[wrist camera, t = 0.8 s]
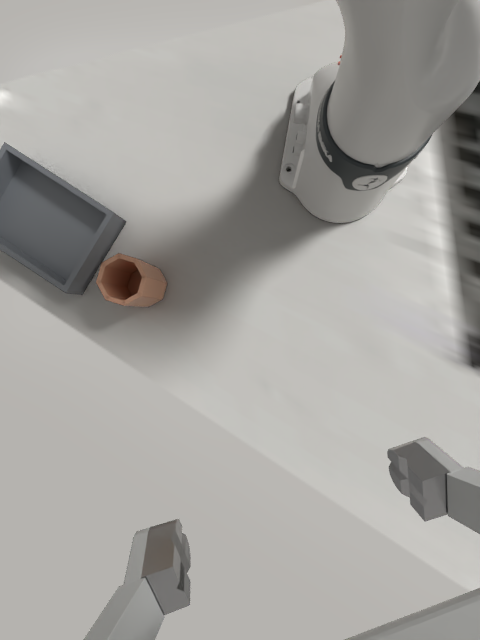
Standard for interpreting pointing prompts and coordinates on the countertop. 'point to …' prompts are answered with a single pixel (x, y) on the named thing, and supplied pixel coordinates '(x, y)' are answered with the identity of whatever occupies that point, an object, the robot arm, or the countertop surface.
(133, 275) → the cup
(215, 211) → the countertop surface
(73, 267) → the tray
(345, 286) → the countertop surface
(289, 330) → the countertop surface
